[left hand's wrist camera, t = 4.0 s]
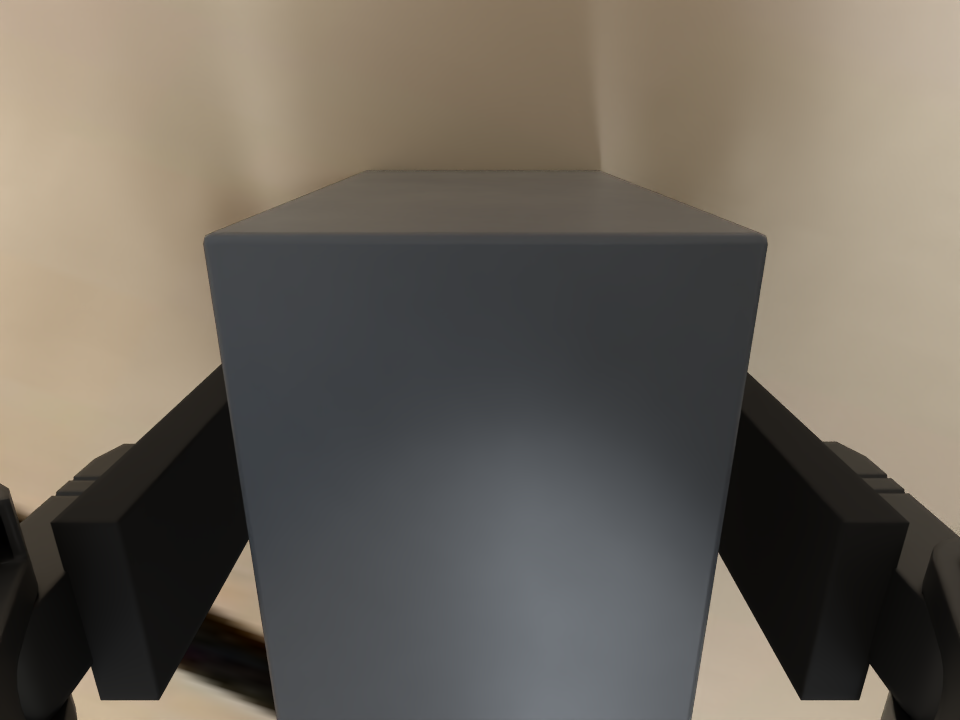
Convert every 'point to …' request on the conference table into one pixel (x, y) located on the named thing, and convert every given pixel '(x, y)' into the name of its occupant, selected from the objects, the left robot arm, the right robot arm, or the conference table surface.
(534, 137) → the conference table surface
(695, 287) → the beam
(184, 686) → the conference table surface
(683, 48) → the conference table surface
